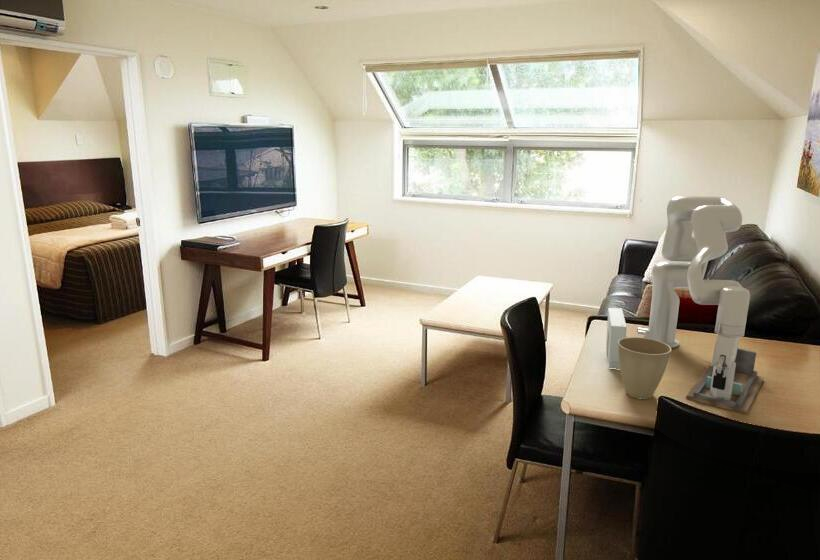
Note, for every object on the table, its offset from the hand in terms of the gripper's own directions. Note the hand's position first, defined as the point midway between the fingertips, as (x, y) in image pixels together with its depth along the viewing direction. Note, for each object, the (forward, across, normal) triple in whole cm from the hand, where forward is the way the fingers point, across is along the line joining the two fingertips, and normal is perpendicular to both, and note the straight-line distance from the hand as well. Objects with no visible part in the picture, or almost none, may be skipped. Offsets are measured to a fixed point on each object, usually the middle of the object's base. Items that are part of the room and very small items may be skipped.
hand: (721, 383), depth 171 cm
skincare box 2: (+4, 0, 0) cm, 4 cm away
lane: (+5, -10, 0) cm, 11 cm away
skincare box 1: (+6, -12, -36) cm, 39 cm away
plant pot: (+5, +12, -20) cm, 24 cm away
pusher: (+4, -4, 0) cm, 6 cm away
